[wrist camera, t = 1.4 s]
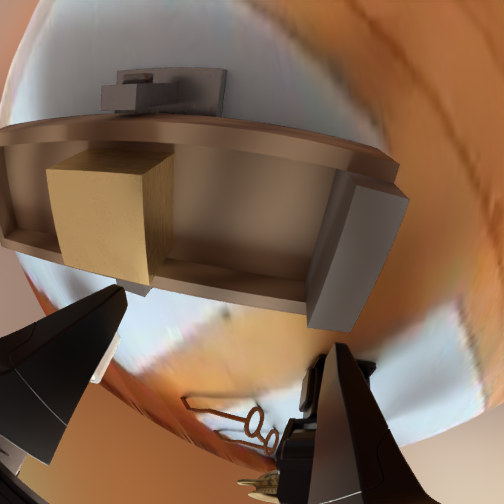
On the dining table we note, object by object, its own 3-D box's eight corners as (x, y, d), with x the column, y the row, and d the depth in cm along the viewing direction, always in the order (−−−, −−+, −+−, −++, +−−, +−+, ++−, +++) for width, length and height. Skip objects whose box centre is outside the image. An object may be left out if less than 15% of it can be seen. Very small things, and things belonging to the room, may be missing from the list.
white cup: (79, 304, 32) (50, 339, 26) (118, 321, 31) (89, 362, 25) (92, 337, 36) (68, 370, 30) (128, 353, 35) (105, 390, 29)
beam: (377, 148, 14) (417, 177, 10) (333, 284, 20) (343, 343, 15) (9, 125, 14) (-39, 145, 10) (24, 227, 20) (-12, 258, 15)
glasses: (281, 434, 40) (276, 458, 36) (214, 429, 45) (207, 451, 41) (257, 399, 34) (249, 430, 30) (179, 394, 39) (168, 420, 35)
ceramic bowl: (234, 461, 55) (224, 493, 47) (263, 438, 42) (251, 486, 33) (339, 479, 54) (335, 509, 46) (394, 456, 41) (393, 496, 33)
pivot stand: (227, 69, 15) (189, 61, 10) (207, 272, 24) (181, 319, 19) (125, 71, 16) (70, 73, 11) (129, 251, 25) (93, 288, 20)
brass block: (174, 152, 14) (142, 175, 11) (173, 245, 17) (149, 285, 14) (88, 148, 14) (45, 169, 11) (96, 232, 17) (64, 264, 14)
